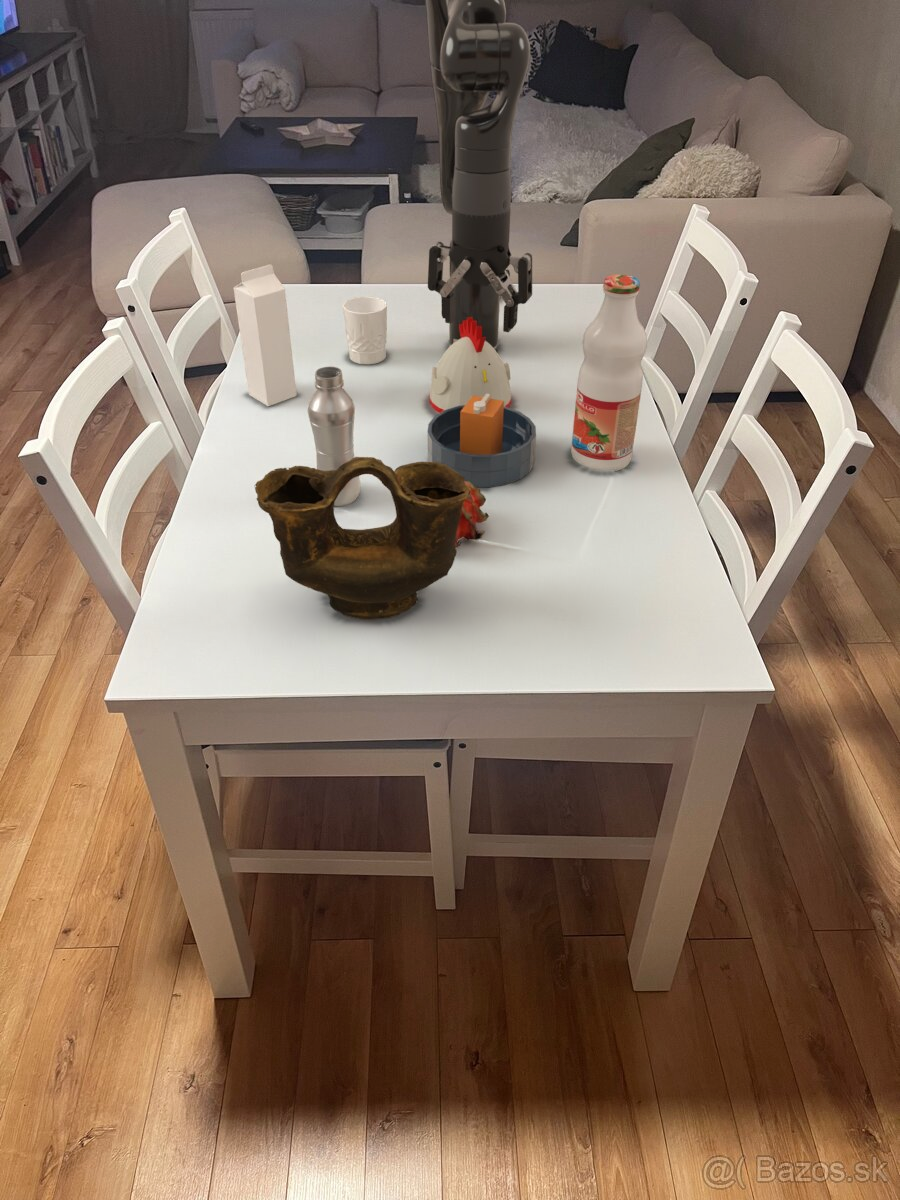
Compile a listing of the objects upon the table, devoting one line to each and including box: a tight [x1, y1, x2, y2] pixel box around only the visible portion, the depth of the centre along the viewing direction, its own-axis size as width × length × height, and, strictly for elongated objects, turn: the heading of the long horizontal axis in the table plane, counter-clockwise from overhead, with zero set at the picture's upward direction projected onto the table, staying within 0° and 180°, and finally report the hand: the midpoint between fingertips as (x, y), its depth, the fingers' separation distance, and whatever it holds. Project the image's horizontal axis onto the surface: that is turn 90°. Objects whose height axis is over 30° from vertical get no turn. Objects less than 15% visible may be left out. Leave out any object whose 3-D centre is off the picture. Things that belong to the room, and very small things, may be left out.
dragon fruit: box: [455, 481, 490, 549], centre depth 127 cm, size 8×8×12 cm
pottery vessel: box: [254, 456, 471, 620], centre depth 113 cm, size 25×11×20 cm, turn 96°
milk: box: [233, 263, 298, 407], centre depth 155 cm, size 6×6×22 cm
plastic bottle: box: [307, 366, 362, 507], centre depth 130 cm, size 6×7×20 cm
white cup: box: [342, 296, 388, 365], centre depth 171 cm, size 8×8×10 cm
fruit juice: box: [570, 274, 648, 472], centre depth 137 cm, size 9×9×28 cm
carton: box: [460, 394, 504, 455], centre depth 141 cm, size 6×5×10 cm
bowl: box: [427, 405, 537, 488], centre depth 143 cm, size 16×16×6 cm
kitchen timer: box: [429, 317, 512, 414], centre depth 155 cm, size 14×14×15 cm
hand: (478, 325), depth 130 cm, fingers open, 8 cm apart
